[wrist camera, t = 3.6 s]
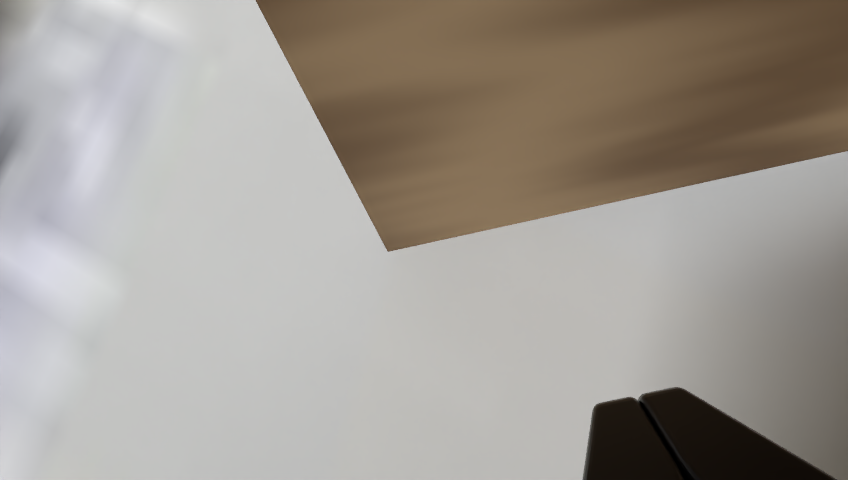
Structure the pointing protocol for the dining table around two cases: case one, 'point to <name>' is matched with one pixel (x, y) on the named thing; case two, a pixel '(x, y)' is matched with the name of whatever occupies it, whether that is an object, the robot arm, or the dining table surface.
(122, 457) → the dining table surface
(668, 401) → the robot arm
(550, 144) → the gate panel
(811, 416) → the dining table surface
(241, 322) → the dining table surface
